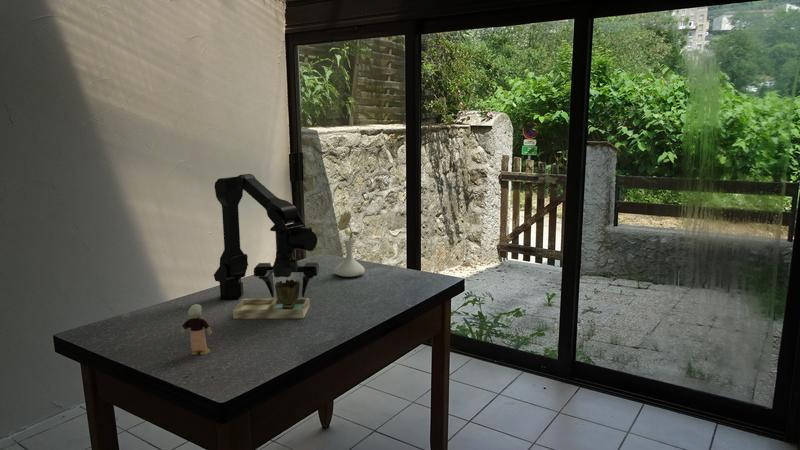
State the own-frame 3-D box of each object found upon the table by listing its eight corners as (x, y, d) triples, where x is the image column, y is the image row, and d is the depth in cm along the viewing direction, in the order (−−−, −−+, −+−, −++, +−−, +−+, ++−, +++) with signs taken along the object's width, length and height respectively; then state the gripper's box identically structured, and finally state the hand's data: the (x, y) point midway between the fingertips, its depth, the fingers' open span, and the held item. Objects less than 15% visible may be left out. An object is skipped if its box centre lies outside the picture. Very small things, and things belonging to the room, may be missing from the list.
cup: (279, 313, 166) (278, 287, 165) (273, 306, 173) (271, 281, 171) (304, 309, 170) (302, 284, 168) (296, 302, 176) (295, 278, 175)
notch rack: (233, 318, 166) (232, 310, 165) (243, 306, 177) (243, 298, 176) (303, 318, 166) (303, 310, 165) (309, 305, 177) (309, 298, 176)
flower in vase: (334, 271, 216) (332, 207, 212) (364, 270, 218) (363, 206, 213) (334, 281, 204) (332, 213, 199) (366, 279, 205) (364, 212, 200)
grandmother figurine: (215, 348, 144) (212, 301, 142) (212, 354, 141) (209, 306, 138) (184, 350, 143) (180, 303, 141) (180, 356, 140) (176, 308, 137)
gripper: (247, 253, 160) (250, 305, 163) (313, 252, 160) (314, 305, 162) (257, 244, 171) (259, 293, 173) (318, 244, 171) (320, 293, 173)
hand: (288, 296), depth 170 cm, fingers open, 9 cm apart
